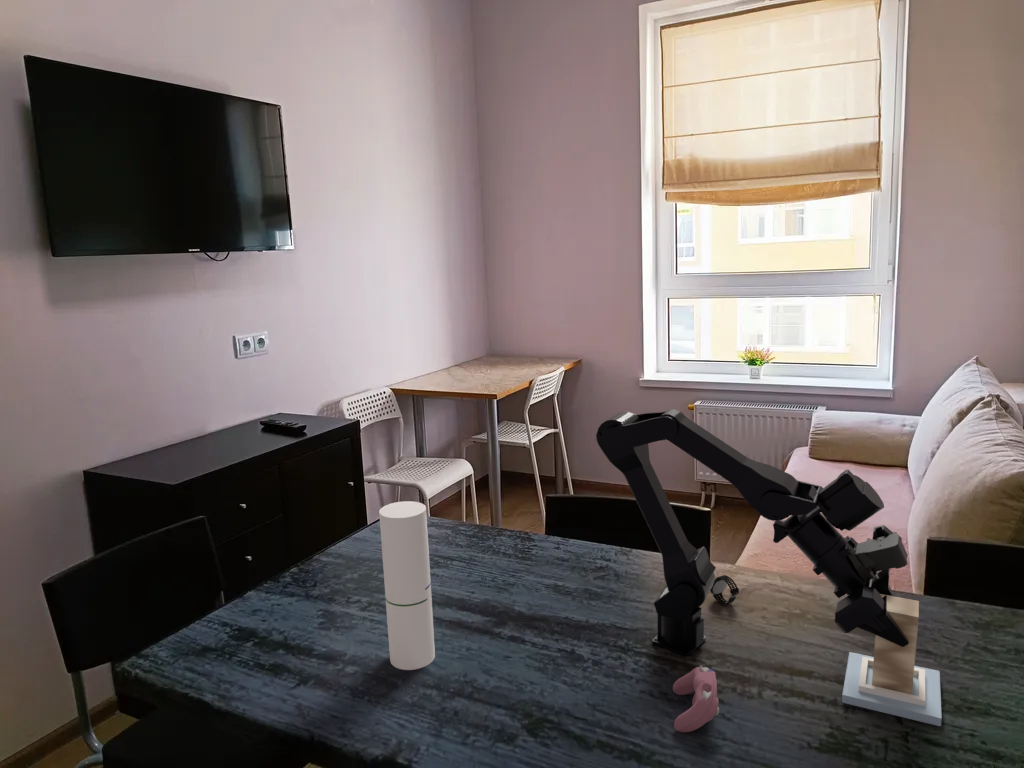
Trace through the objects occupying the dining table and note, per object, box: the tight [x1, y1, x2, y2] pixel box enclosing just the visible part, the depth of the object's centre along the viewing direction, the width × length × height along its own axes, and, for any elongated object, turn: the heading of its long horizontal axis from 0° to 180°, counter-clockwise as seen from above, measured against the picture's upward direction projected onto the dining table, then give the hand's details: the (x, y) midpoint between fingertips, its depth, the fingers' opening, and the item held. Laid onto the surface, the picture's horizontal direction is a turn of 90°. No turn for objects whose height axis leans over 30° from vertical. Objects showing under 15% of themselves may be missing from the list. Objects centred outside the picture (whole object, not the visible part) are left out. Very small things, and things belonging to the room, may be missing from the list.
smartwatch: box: [710, 574, 740, 606], centre depth 131 cm, size 4×5×5 cm
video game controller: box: [672, 664, 720, 733], centre depth 102 cm, size 10×5×7 cm, turn 169°
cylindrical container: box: [378, 500, 436, 671], centre depth 116 cm, size 7×7×25 cm
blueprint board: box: [841, 651, 942, 727], centre depth 106 cm, size 12×12×2 cm
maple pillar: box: [872, 594, 920, 695], centre depth 104 cm, size 5×5×12 cm
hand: (906, 634), depth 103 cm, fingers open, 6 cm apart
